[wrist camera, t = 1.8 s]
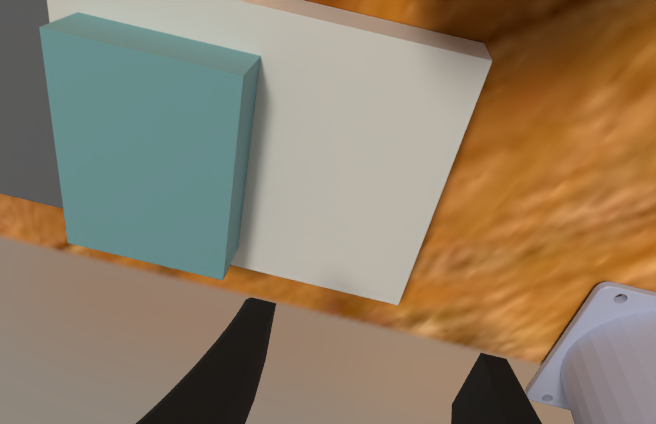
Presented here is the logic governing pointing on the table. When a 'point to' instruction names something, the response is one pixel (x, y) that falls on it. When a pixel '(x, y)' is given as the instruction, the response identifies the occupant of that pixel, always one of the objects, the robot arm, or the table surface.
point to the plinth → (332, 131)
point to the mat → (26, 106)
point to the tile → (150, 140)
